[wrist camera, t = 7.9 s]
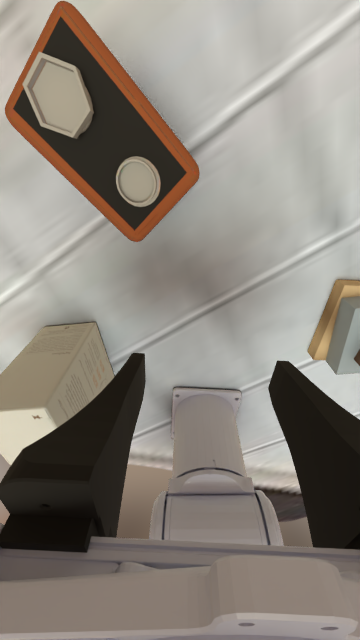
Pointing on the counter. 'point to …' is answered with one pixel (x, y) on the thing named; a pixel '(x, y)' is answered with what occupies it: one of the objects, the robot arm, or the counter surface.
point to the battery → (99, 126)
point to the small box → (50, 384)
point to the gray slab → (345, 337)
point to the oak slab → (331, 317)
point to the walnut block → (357, 358)
